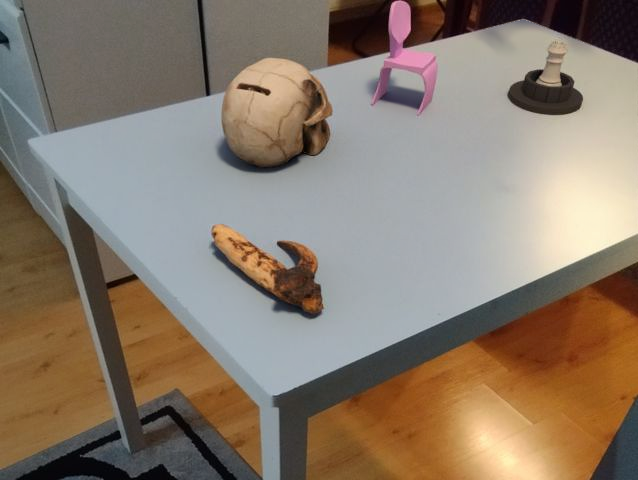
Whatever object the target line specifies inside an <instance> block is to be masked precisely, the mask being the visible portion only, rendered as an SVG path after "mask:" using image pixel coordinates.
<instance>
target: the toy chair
mask: <svg viewBox="0 0 638 480" xmlns="http://www.w3.org/2000/svg"><path fill="white" fill-rule="evenodd" d="M411 11H412V10H411V6H410V4H409V3H408V2H406V1H405V0H395V1H393V2H392V3H391V5H390V10H389V16H388V35H389V56H387V57H386V58H385V59H383V66H382V67H381V68H380V71H379V76H378V77H379V78H378V84H377V88H376V90H375V93H374V96H373V98H372V101H371V103H370V105H371V106H374V105H375V104H376V103H377V102H378V101H379V100H380V99H381V98H382V97H383V96H384V95H385V94H386V93H387V92H388V87H389V82H390V77H391V75H392V74H391V73H392V70H393V69H397V70H404V71H407V72H411V73H414V74H417V75H419V76H420V77H421V78H422V80H423V85H424V94H423V98H422V101H421V104H420V106H419V108H418V111H417V113H416V116H420V115H421V114H422V113H423V112H424V110H425V109H426V108H427V107H428V105H430V103H431V102H432V100H433V98H434V97H433V96H434V93H435V88H436V84H437V83H436V82H437V76H438V67H439V66H438V61H437V54H435V53H431V52H430V53H429V52H423V51H422V52H421V51H416V50H413V49H412V50H411V49H409V48H405V47H403V46H404V41H405V40H406V39H407V37H408V36H409V34H410V33H411V29H412V28H411V25H412V24H411V21H412V20H411V18H412V17H411V13H412V12H411Z"/></svg>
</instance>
